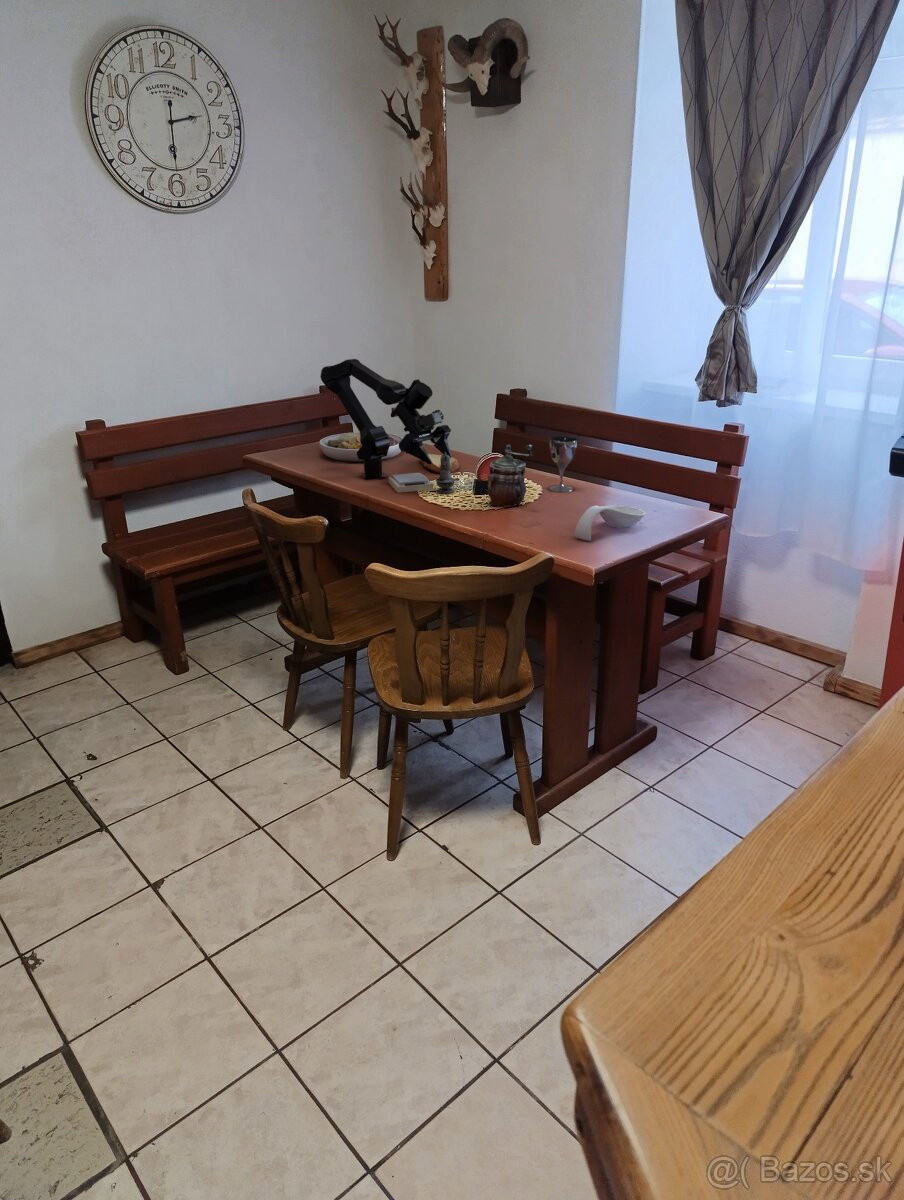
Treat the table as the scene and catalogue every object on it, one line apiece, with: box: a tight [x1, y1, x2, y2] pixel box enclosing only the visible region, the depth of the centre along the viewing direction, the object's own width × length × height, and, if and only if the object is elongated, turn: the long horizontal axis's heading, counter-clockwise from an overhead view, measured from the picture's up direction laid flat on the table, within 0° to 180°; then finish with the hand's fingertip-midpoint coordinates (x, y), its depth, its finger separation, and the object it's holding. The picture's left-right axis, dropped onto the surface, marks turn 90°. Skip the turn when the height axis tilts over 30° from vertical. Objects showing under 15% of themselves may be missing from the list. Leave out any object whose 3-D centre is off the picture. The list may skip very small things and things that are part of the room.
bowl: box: [318, 431, 404, 463], centre depth 288 cm, size 30×30×8 cm
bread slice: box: [419, 453, 460, 474], centre depth 271 cm, size 18×18×4 cm
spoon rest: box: [573, 504, 646, 542], centre depth 207 cm, size 24×12×7 cm, turn 137°
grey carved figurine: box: [435, 452, 456, 495], centre depth 241 cm, size 6×6×12 cm
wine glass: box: [548, 436, 578, 493], centre depth 242 cm, size 8×8×15 cm
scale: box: [388, 472, 434, 494], centre depth 248 cm, size 12×11×3 cm
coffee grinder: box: [486, 444, 534, 508], centre depth 227 cm, size 13×15×18 cm
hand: (440, 460), depth 241 cm, fingers open, 9 cm apart
